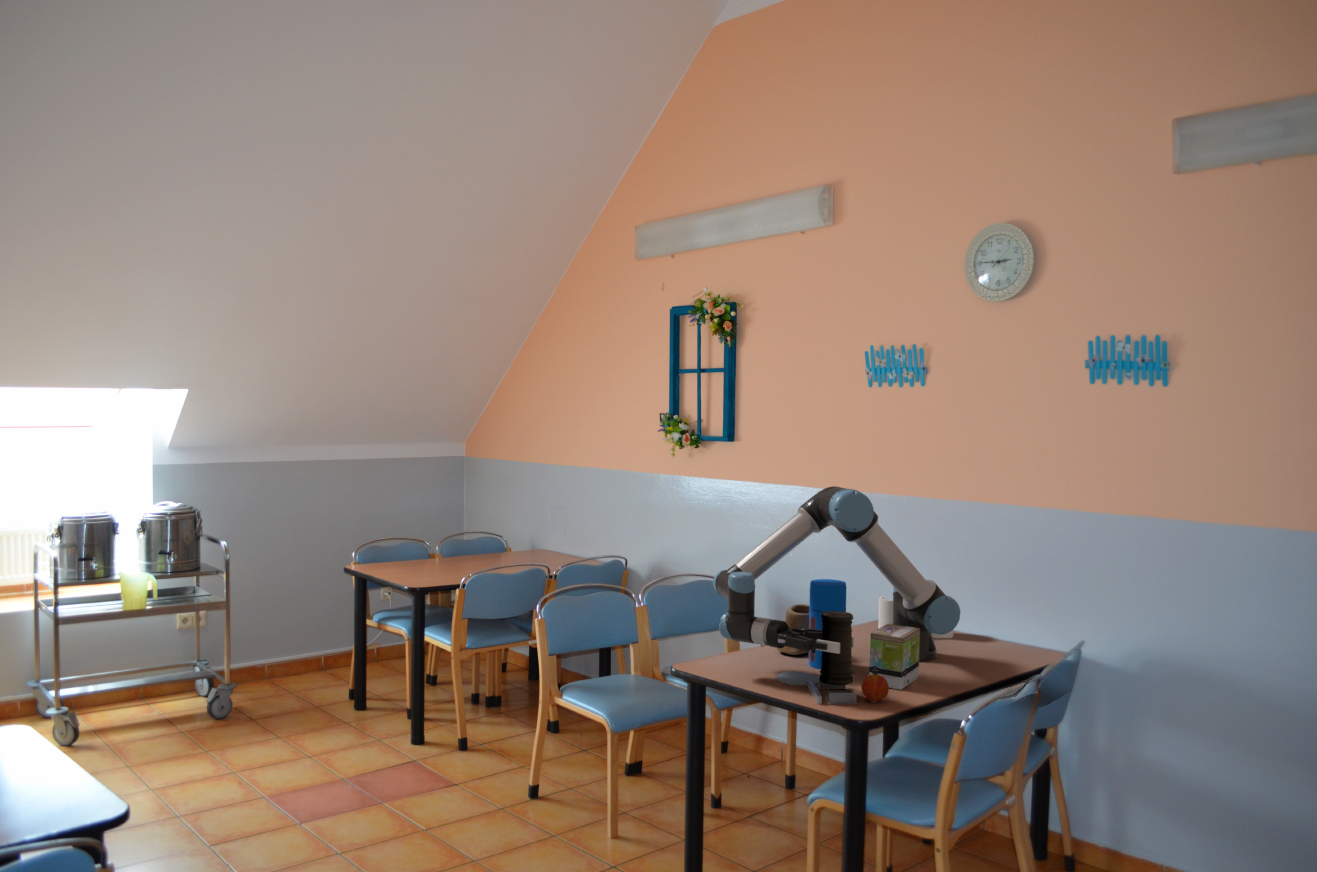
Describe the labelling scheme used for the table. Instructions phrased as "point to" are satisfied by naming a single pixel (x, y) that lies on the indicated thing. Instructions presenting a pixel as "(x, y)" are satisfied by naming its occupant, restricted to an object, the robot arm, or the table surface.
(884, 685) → the fruit
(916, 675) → the tea box
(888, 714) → the table surface
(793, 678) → the mat
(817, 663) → the thermos
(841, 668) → the container
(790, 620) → the stone cup
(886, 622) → the bracket
